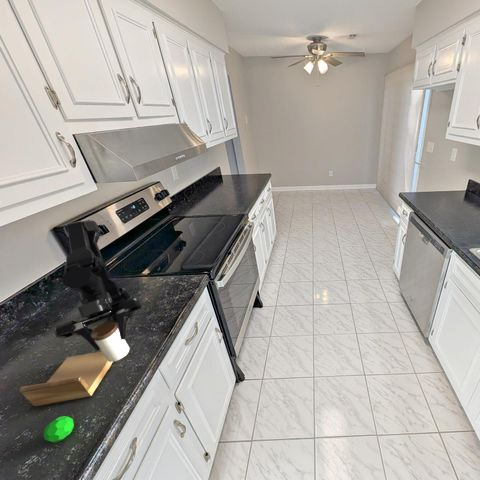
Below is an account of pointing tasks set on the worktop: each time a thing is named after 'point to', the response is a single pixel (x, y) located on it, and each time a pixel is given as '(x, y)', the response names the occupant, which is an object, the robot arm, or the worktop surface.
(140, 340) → the worktop surface
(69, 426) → the polyhedron
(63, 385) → the wooden ramp
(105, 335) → the cylinder
